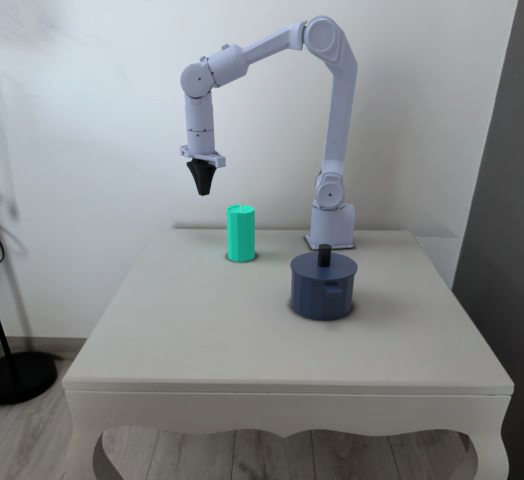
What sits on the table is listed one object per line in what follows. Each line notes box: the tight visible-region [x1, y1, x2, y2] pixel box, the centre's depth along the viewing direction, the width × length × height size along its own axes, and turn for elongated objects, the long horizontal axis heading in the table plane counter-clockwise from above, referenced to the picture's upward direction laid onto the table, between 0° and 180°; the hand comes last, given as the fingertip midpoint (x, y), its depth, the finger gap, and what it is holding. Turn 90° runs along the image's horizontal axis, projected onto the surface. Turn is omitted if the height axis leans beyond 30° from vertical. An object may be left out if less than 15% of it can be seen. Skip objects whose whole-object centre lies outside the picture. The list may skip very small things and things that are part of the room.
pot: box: [290, 270, 356, 321], centre depth 91 cm, size 11×16×8 cm
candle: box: [226, 201, 256, 263], centre depth 108 cm, size 6×6×12 cm
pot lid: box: [289, 244, 359, 282], centre depth 88 cm, size 12×12×4 cm
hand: (204, 194), depth 114 cm, fingers closed
